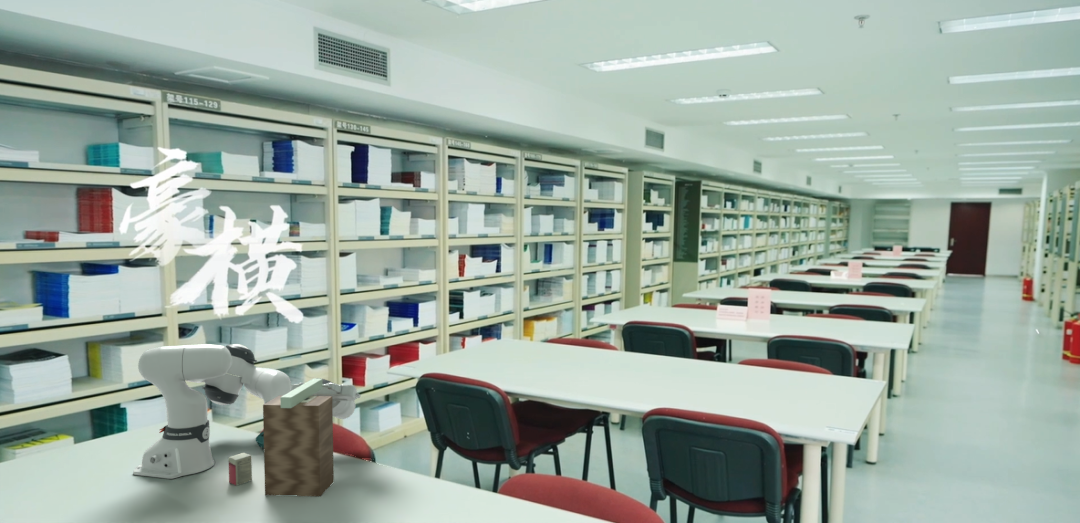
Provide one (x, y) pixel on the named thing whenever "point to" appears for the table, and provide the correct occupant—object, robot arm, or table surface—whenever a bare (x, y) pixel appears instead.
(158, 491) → the table surface
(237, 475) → the small box
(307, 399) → the stand
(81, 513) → the table surface
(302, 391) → the bar
